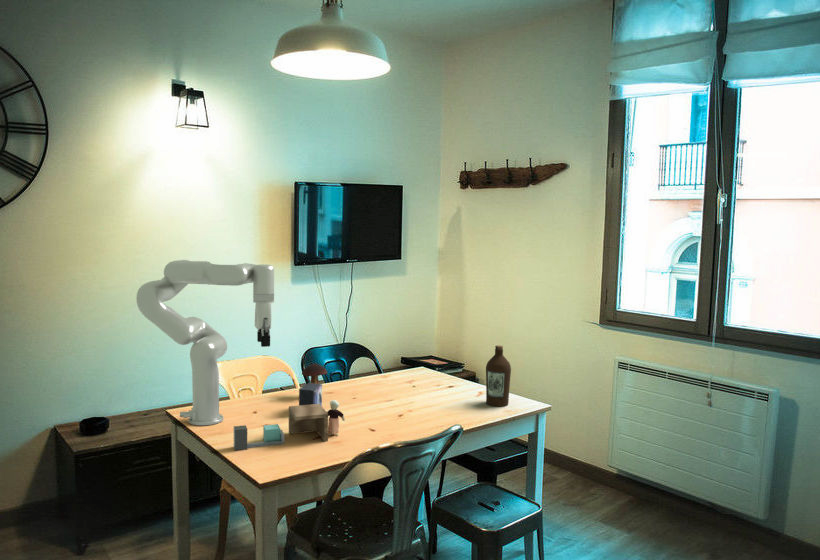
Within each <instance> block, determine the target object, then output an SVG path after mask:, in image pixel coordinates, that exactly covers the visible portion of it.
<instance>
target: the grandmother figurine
mask: <svg viewBox="0 0 820 560" xmlns="http://www.w3.org/2000/svg"><path fill="white" fill-rule="evenodd" d="M329 405H330V409H329V410H327V411H326V412H327V413H328V437H329V436H332V435H333V437H337V436H339V430H340V429H339V428H340V419H339V417H340V418H341V420H342V421H346V418H345V415H344V414H343V412H342V411H340V410H338V408H339V407H340V403H339V401H337V400H336V399H331V401H330V403H329Z"/></svg>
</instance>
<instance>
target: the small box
mask: <svg viewBox="0 0 820 560" xmlns="http://www.w3.org/2000/svg"><path fill="white" fill-rule="evenodd" d="M311 404H320V405H321V406H322V407H323V384H321V383H319V384H315V383H310V382H307V383H306V384H305V385H303V386H302V387H300V388H299V391H298V406H299V405H311Z"/></svg>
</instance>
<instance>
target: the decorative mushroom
mask: <svg viewBox="0 0 820 560" xmlns="http://www.w3.org/2000/svg"><path fill="white" fill-rule="evenodd" d="M327 374H328V371H327V369H326V368H325V367H324V366H322V365H321V364H319V363H315V362H314V363H311V364H309V365H307V366H306V367H305V368H304V369H303V370H302V372H301V375H302V376H304V377H310V380H309V383H315V384H320V382H319V381H320V380H319V377H320V376H323V375H327Z"/></svg>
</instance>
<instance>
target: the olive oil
mask: <svg viewBox="0 0 820 560" xmlns="http://www.w3.org/2000/svg"><path fill="white" fill-rule="evenodd" d="M511 373H512V365H511V364H510V362H509V360H508V359H507V357H506V356H504V346H503V345H495V349H494V354H493V356H492V357H491V358H490V359H489V360H488V361H487V363H486V366H485V384H486V385H485V386H486V387H485V388H486V389H485V390H486V391H485V392H486V393H485V399H486V400H485V401H486V402H485V403H486V405H488V406H491V407H498V408H499V407H507V406H508V405H509V398H510V386H511Z"/></svg>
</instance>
